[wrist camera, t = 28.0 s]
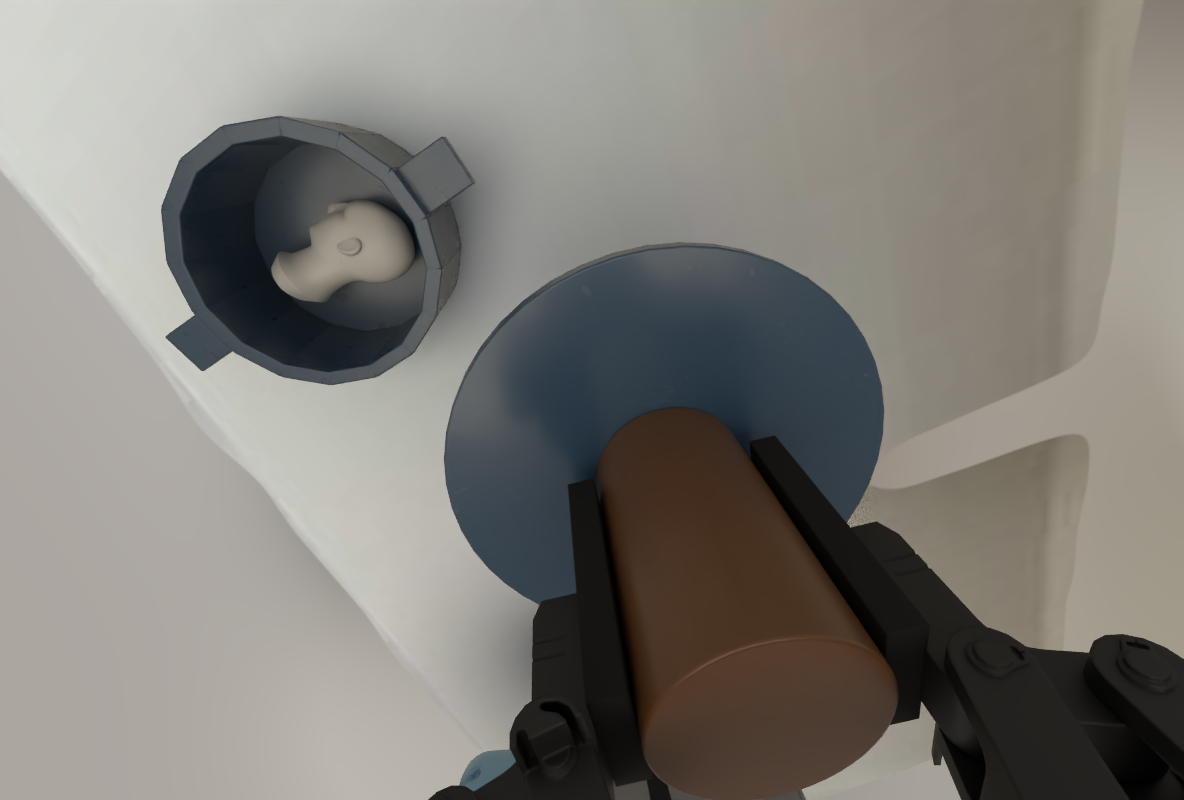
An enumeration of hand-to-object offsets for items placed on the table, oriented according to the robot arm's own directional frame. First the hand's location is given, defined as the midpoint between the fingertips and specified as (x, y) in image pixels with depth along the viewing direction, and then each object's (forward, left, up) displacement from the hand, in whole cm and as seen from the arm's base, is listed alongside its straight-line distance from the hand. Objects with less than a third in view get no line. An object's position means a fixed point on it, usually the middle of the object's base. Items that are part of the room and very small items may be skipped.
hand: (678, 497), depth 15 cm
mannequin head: (+7, +14, -22) cm, 27 cm away
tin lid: (0, 0, -2) cm, 2 cm away
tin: (+8, +14, -22) cm, 27 cm away
